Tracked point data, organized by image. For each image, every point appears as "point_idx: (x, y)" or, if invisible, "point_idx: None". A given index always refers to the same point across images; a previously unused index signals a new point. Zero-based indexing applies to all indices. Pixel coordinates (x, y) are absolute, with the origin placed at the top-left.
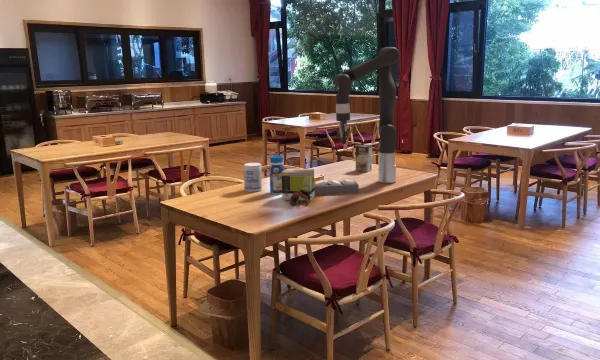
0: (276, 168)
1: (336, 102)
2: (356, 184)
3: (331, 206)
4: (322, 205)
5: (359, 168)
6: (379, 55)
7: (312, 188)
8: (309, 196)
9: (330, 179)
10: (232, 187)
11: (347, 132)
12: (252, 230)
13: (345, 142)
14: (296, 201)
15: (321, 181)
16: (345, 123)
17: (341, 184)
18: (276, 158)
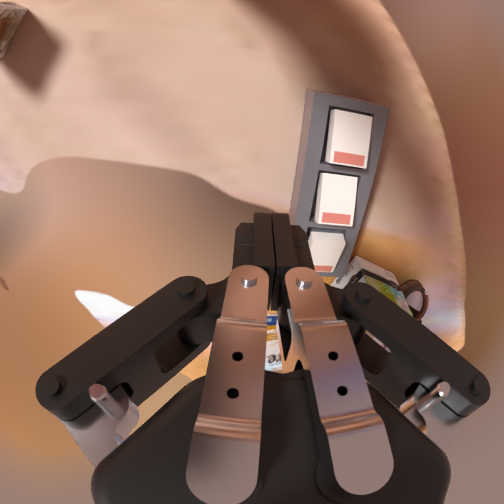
0: None
1: None
2: (381, 114)
3: (454, 235)
4: (436, 252)
5: (4, 42)
6: None
7: (385, 285)
8: (421, 291)
9: (326, 218)
10: (196, 378)
11: (433, 336)
12: (457, 347)
13: (302, 230)
14: (413, 310)
15: (327, 251)
16: (430, 499)
17: (357, 173)
18: None
